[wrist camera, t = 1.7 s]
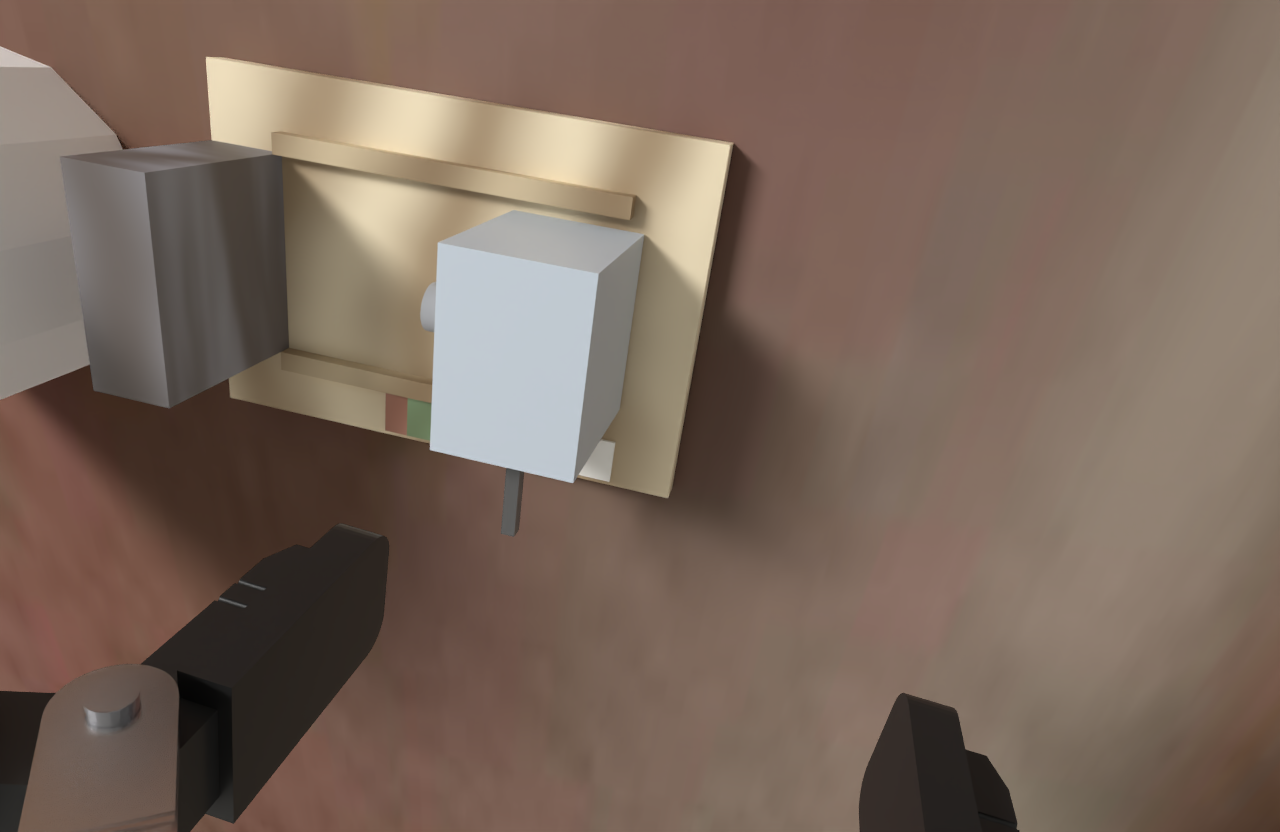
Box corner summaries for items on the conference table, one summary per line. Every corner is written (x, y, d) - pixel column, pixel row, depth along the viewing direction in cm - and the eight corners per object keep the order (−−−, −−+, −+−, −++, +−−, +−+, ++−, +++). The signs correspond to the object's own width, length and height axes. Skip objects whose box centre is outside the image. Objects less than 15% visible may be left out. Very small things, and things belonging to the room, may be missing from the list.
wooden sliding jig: (733, 142, 29) (701, 165, 22) (672, 487, 35) (630, 596, 27) (223, 57, 32) (44, 52, 24) (244, 389, 37) (104, 465, 30)
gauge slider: (644, 234, 30) (598, 273, 24) (608, 486, 34) (562, 571, 28) (463, 200, 31) (375, 230, 25) (450, 449, 35) (373, 525, 29)
